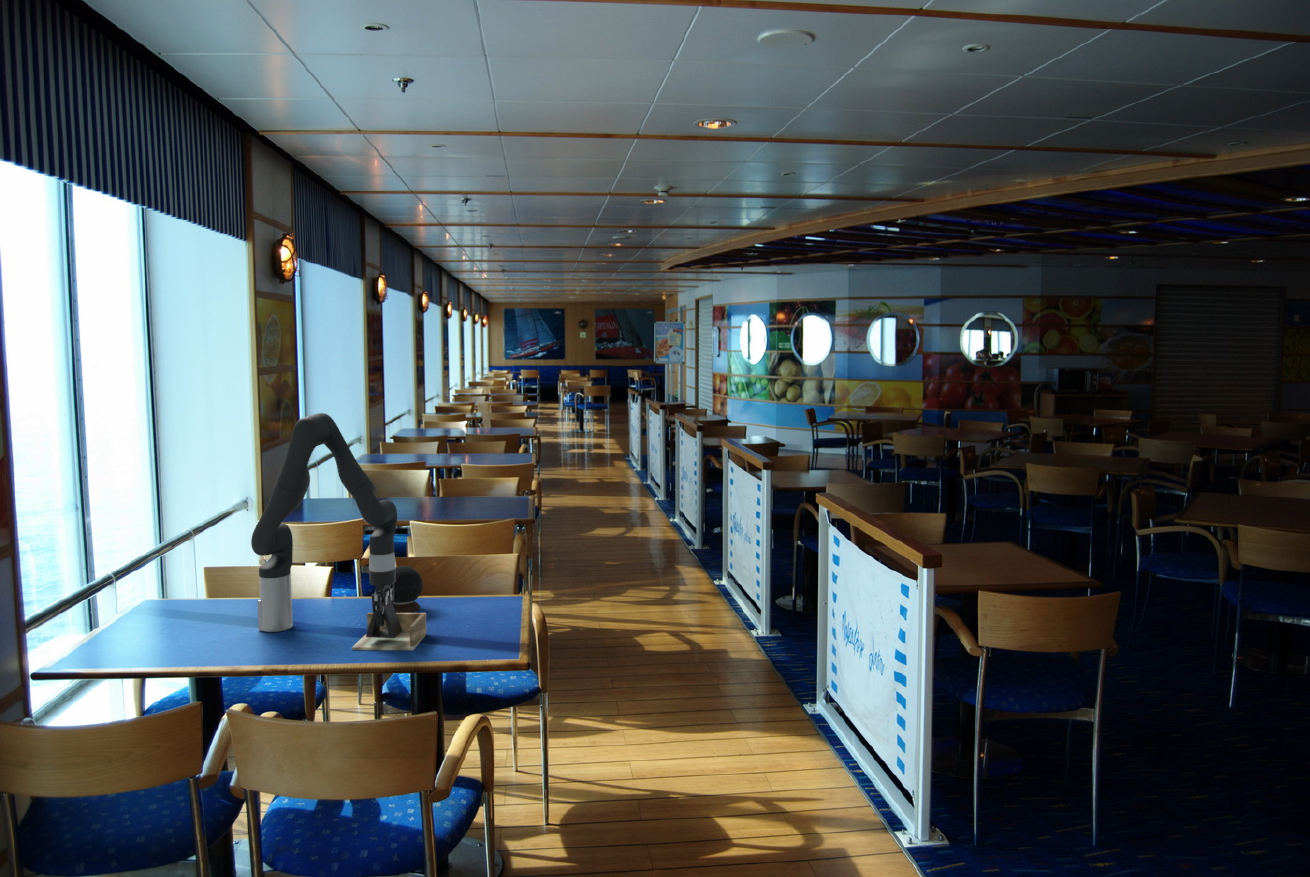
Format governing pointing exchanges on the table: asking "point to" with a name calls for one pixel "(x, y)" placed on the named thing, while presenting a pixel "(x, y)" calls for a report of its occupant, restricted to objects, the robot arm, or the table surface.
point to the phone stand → (390, 621)
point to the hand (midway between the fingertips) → (384, 622)
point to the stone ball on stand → (407, 590)
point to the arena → (405, 640)
